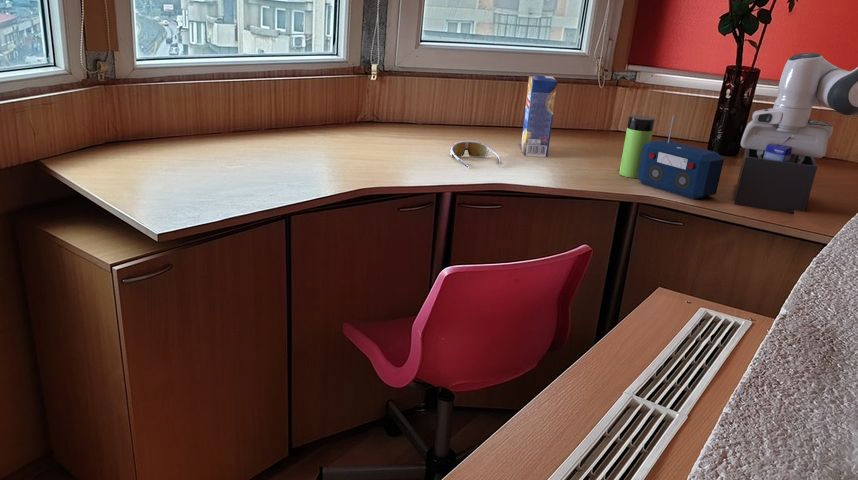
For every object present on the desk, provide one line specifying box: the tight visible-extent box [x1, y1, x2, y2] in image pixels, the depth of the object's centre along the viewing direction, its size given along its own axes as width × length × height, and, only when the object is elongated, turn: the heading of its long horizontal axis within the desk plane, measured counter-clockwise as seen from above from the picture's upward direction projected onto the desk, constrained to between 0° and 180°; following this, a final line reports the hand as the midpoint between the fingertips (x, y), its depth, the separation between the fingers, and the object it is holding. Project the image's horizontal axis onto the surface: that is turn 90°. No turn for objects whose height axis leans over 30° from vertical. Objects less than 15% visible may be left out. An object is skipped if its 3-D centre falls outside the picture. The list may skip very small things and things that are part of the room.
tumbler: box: [618, 114, 656, 179], centre depth 212 cm, size 8×8×17 cm
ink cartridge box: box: [763, 137, 797, 163], centre depth 192 cm, size 10×6×14 cm, turn 133°
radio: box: [636, 115, 725, 200], centre depth 198 cm, size 21×9×20 cm, turn 35°
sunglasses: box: [449, 140, 501, 169], centre depth 220 cm, size 14×15×5 cm
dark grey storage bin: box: [733, 148, 818, 214], centre depth 193 cm, size 17×18×13 cm
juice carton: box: [520, 74, 559, 158], centre depth 232 cm, size 12×8×24 cm, turn 176°
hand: (776, 169), depth 192 cm, fingers closed on ink cartridge box, 6 cm apart
